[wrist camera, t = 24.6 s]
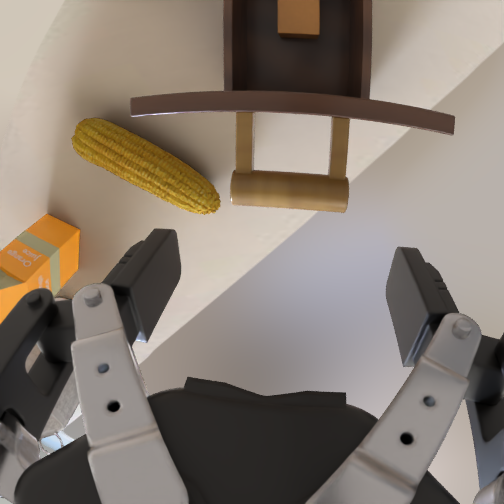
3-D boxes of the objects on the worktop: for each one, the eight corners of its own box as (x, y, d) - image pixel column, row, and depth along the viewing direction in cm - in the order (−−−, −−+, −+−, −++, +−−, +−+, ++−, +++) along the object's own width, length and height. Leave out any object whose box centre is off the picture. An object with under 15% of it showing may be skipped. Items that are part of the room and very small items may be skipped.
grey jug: (105, 359, 65) (31, 506, 31) (45, 312, 60) (-47, 449, 27) (125, 337, 59) (38, 513, 25) (57, 283, 54) (-58, 442, 21)
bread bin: (241, -25, 25) (223, -50, 18) (355, -20, 24) (370, -44, 17) (241, 98, 34) (224, 105, 26) (352, 104, 32) (368, 114, 25)
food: (86, 144, 39) (61, 156, 34) (98, 108, 36) (71, 116, 31) (216, 213, 42) (203, 235, 37) (235, 178, 39) (225, 196, 34)
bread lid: (129, 98, 11) (136, 215, 13) (455, 116, 9) (437, 237, 12) (222, 101, 26) (222, 157, 28) (369, 110, 24) (365, 166, 26)
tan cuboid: (280, -3, 26) (277, -12, 23) (317, -1, 26) (319, -10, 22) (280, 37, 29) (277, 33, 25) (317, 39, 28) (319, 35, 25)
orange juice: (46, 253, 51) (-20, 323, 34) (46, 213, 46) (-34, 281, 29) (79, 269, 51) (14, 348, 34) (81, 229, 47) (2, 307, 30)
